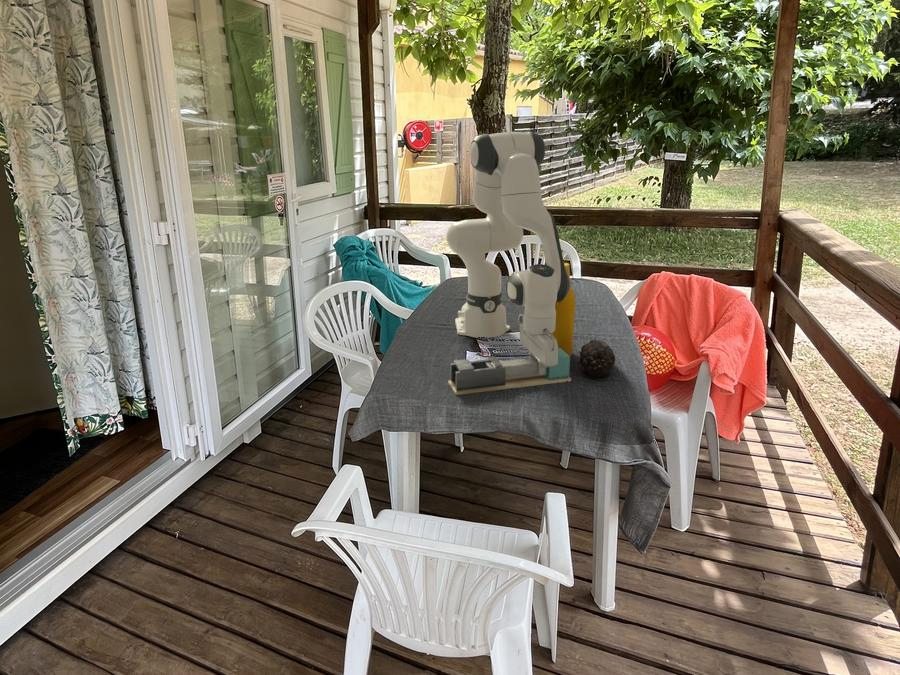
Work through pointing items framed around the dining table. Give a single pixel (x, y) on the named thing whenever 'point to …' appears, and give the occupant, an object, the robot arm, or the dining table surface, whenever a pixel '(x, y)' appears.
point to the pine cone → (596, 360)
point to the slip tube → (520, 368)
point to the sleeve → (477, 374)
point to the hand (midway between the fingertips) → (537, 369)
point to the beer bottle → (565, 320)
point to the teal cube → (560, 367)
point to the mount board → (513, 384)
